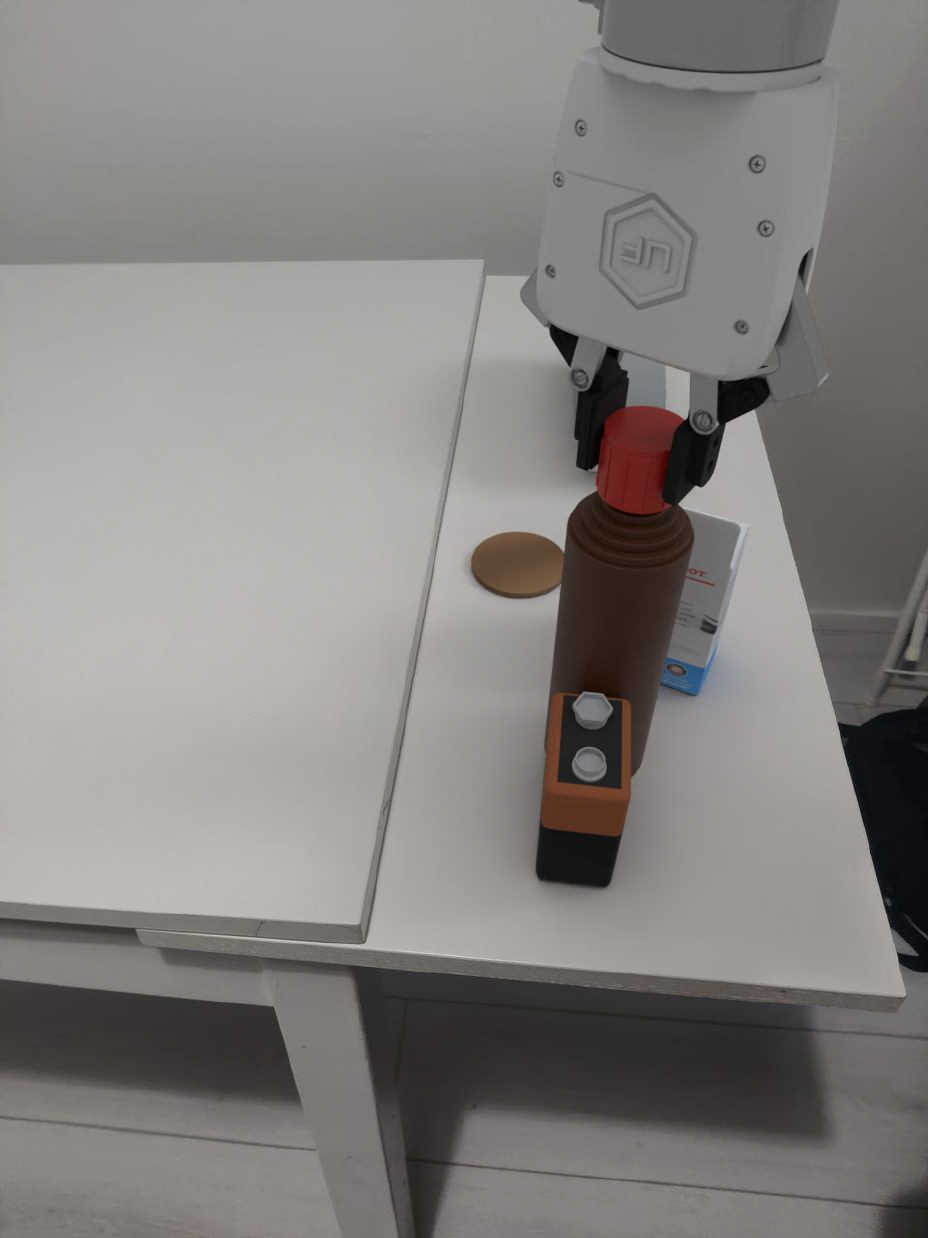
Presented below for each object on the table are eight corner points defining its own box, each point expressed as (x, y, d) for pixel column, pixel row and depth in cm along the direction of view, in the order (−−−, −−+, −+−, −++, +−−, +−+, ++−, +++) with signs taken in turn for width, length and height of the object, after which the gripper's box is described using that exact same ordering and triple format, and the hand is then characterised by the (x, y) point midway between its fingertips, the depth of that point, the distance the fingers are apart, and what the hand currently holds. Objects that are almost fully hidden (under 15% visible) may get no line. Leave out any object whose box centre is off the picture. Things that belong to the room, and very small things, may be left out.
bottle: (663, 749, 57) (744, 436, 40) (599, 806, 54) (659, 493, 37) (588, 694, 60) (635, 385, 44) (523, 745, 57) (548, 433, 41)
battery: (612, 792, 54) (634, 685, 47) (610, 892, 49) (634, 789, 42) (542, 784, 55) (553, 677, 48) (533, 882, 50) (544, 779, 43)
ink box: (717, 651, 63) (766, 482, 53) (698, 698, 60) (746, 528, 50) (605, 614, 66) (631, 447, 56) (581, 658, 63) (604, 488, 52)
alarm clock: (567, 364, 93) (578, 242, 85) (625, 365, 93) (642, 243, 84) (581, 492, 77) (596, 358, 68) (651, 494, 77) (676, 359, 68)
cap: (694, 491, 43) (708, 428, 40) (643, 525, 41) (655, 462, 38) (630, 457, 45) (640, 396, 42) (579, 489, 43) (586, 426, 40)
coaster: (586, 567, 70) (586, 562, 69) (519, 612, 66) (520, 607, 66) (517, 524, 74) (518, 519, 73) (451, 564, 70) (451, 559, 70)
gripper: (449, 2, 31) (453, 450, 43) (945, 74, 23) (774, 585, 36) (563, -26, 35) (536, 388, 48) (1012, 27, 28) (838, 498, 40)
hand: (639, 470), depth 42 cm, fingers closed on cap, 3 cm apart
